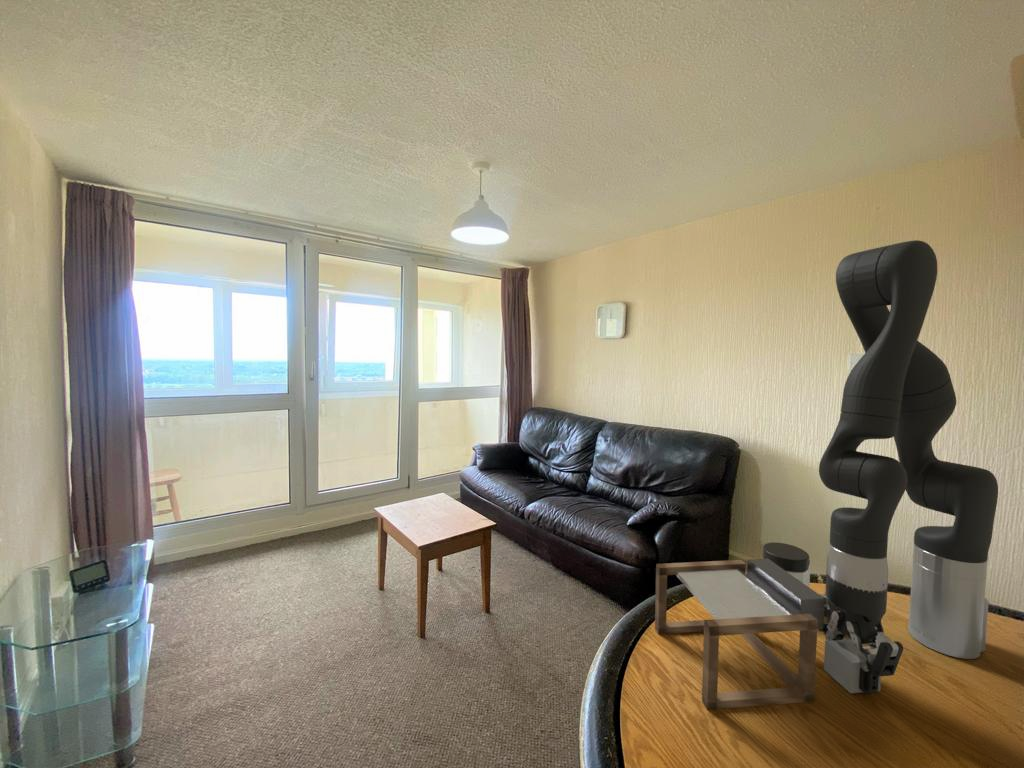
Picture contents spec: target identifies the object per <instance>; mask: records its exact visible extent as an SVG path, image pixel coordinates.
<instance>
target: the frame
mask: <svg viewBox="0 0 1024 768" xmlns="http://www.w3.org/2000/svg"><path fill="white" fill-rule="evenodd" d="M736 568H739V569H740V570H741V571H742V572H744V573H745V574H746V570H747V568H746V562H744V561H743V560H742V559H733V560H712V561H692V562H691V561H689V562H688V561H687V562H671V563H668V562H667V563H655V602H654V603H655V605H654V606H655V607H654V608H655V609H654V610H655V611H654V612H655V614H654V630H655V631H656V633H657V634H658V635H663V634H664V635H665V634H680V633H681V634H682V633H696V632H697V633H699V632H703V651H702V652H703V653H702V657H703V658H702V681H701V682H702V687H701V688H702V689H701V702H702V704H703V705H704V707H705V709H706V710H709V711H710V710H722V709H733V708H747V707H757V706H770V705H771V706H772V705H785V704H795V703H796V704H798V703H799V704H800V703H809V702H810V703H811V702H815V687H816V686H815V684H816V667H817V663H816V662H817V647H818V646H817V645H818V641H817V640H818V629H817V626H818V620H817V619H816V618H815V617H813V616H812V615H811V614H797V615H780V616H763V617H746V618H730V619H715V618H713V619H700V620H684V621H682V620H681V621H667V604H668V603H667V598H668V597H667V596H668V592H667V591H668V576H677V572H693V571H713V570H733V569H736ZM798 631H799V645H798V646H799V648H798V649H799V650H798V669H797V674H795V673H794V672H793V670H791V669H790V667H788V666H787V665H786V664H785V662H783V661H782V660H781V659H780V658H779V657H778V656H777V655H776V654H775V653H774V652H773V650H772V649H770V648H769V646H767V645H766V644H765V643H764V642H763V641H762V639H761V638H759V637H758V636H757V634H764V633H766V634H767V633H779V632H781V633H782V632H783V633H784V632H798ZM734 635H735V636H736V635H741V636H742V637H743V639H745V641H747V643H748V644H749V645H750V646H751V647H752V648H753V649H754V650H755V651H756V652H757V654H758V655H760V656H761V657H762V658H763V660H765V662H766V663H767V664H768V665H769V666H770V668H772V669H773V671H775V673H777V674H778V675H779V676H780V678H781V679H782V680H783V681H784V682H785V683H786V684H787V685H788V686H789V687H780V688H779V687H778V688H766V689H765V688H764V689H751V690H741V691H739V690H738V691H737V690H736V691H723V692H718V686H719V685H718V682H719V679H718V678H719V655H720V654H719V648H720V636H734Z"/></svg>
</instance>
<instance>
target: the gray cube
mask: <svg viewBox="0 0 1024 768" xmlns="http://www.w3.org/2000/svg"><path fill="white" fill-rule="evenodd" d="M862 647H864V645H862ZM823 656H824V659H823V660H824V661H823V670H824V672H826V673H827V674H829V676H831V677H832V679H834V680H835V681H836V682H838V684H840V686H842V688H844V690H846V691H847V692H848V693H849V694H857V693H858V694H861V693H863V692H862V691H861V690H860V689H859V677H860V668H861V665H860V661H859V657H858V654H857V653H856V652H855V651H854V649H853V644H852V640H851V639H850V638H848V639H847V638H845V640H831V641H827V640H824V655H823ZM867 657H868V661H869V662H871V658H870V654H869V655H868V656H867ZM881 678H882V676H879V682H878V690H877V692H881V683H882V681H881V680H882V679H881Z"/></svg>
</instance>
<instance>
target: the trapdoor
mask: <svg viewBox="0 0 1024 768" xmlns="http://www.w3.org/2000/svg"><path fill="white" fill-rule="evenodd" d="M746 570H747V573H746V572H745V573H744V572H742V571H741V570H740V569H739V568H736V569H733V570H713V571H693V572H677V575H676V577H677V579H679V581H680V582H681V583H682V584H683V585H684V586H685V587H686V589H687V590H688V591H689V592H690V593H691V594H692V595H693V596H694V598H696V600H697V601H698V602H699V603H700V604H701V605H702V606H703V608H704V609H705V610H706V611H707V612H708V613H709V614H710V615H711V616H712V617H713V619H730V618H746V617H763V616H780V615H797V614H811V615H812V616H813V617H815V618H816V619H817V620H818V626H817V630H818V629H823V627H824V623H825V617H824V607H825V598H824V597H822V596H821V595H819V594H820V593H818V592H816V591H815V590H813V589H812V588H811V587H810V586H809V587H808V586H806V585H805V584H804V583H802V582H801V581H799V580H798V579H796V578H795V577H794V576H792V575H791V574H789V573H788V572H786V571H785V570H784V569H782V568H781V567H779V566H778V565H776V564H775V563H774V562H772V561H771V560H769V559H768V558H767V559H763V558H751V559H749V558H748V559H747V568H746Z"/></svg>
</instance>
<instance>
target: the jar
mask: <svg viewBox="0 0 1024 768" xmlns="http://www.w3.org/2000/svg"><path fill="white" fill-rule="evenodd" d="M767 558H768V559H769V560H771V561H772V562H774V563H775V564H776V565H778V566H779V567H781V568H782V569H784V570H785V571H786V572H788V573H789V574H791V575H792V576H794V577H795V578H796V579H798V580H799V581H801V582H802V583H804V584H805V585H806V586H808V587H809V588H810V584H811V583H810V581H811V580H810V578H811V577H810V576H811V566H810V561H811V560H810V555H809V554H808V552H807V551H805V550H804V549H802V548H800V547H798V546H796V545H794V544H793V545H792V544H788V543H784V542H774V541H773V542H767V543H764V544H763V546H762V559H767Z"/></svg>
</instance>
